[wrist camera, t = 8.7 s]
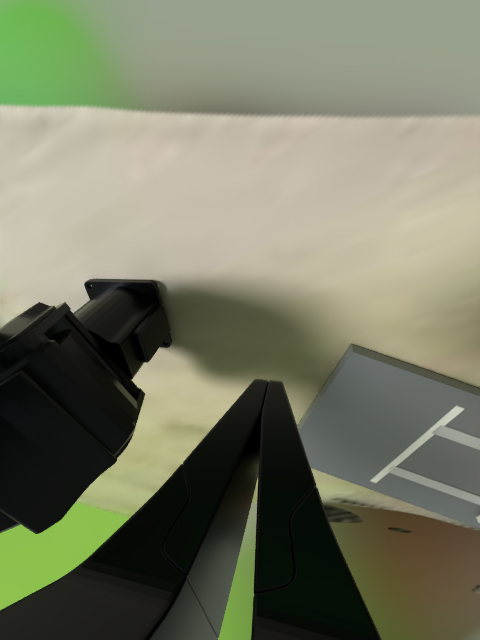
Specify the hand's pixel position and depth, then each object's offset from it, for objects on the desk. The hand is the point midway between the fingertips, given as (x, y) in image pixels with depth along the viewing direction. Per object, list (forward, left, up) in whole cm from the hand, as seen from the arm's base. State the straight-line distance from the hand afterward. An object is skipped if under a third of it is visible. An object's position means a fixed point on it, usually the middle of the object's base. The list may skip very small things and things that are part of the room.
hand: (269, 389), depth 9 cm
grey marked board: (+13, -20, -13) cm, 27 cm away
